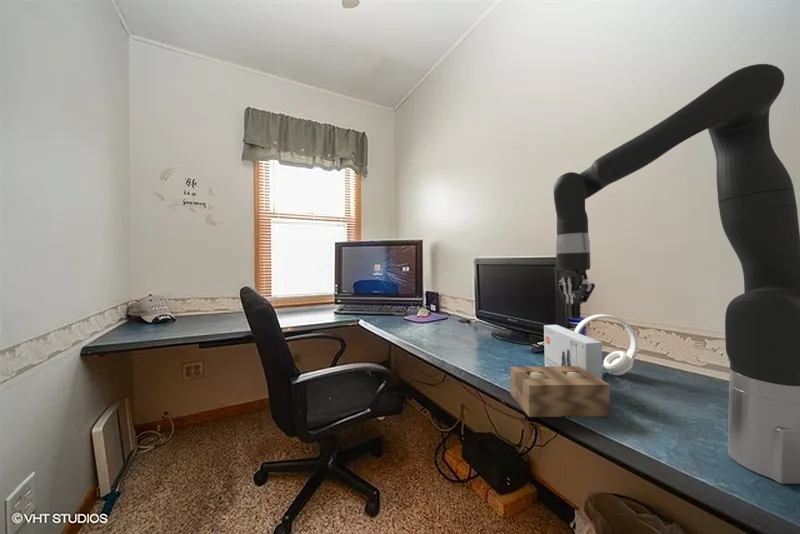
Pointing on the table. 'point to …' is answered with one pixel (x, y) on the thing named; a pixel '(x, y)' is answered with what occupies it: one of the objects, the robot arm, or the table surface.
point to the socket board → (559, 392)
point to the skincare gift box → (572, 350)
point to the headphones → (618, 359)
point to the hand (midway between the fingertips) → (574, 318)
